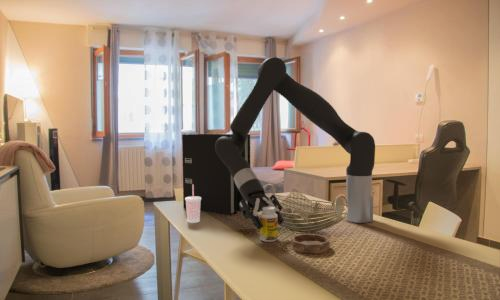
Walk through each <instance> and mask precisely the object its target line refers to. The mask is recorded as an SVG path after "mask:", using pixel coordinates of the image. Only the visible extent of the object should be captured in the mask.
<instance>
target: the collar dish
mask: <svg viewBox="0 0 500 300" xmlns="http://www.w3.org/2000/svg"><path fill="white" fill-rule="evenodd" d="M329 247H330V239H329V238H328V236H325V235H321V234H317V233H316V234H315V233H299V234H296V235H294V236H291V249H292V250H293V251H295V252H297V253H300V254H305V255H318V254H325V253H326V252H328V251H330V250H329V249H330V248H329Z"/></svg>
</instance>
